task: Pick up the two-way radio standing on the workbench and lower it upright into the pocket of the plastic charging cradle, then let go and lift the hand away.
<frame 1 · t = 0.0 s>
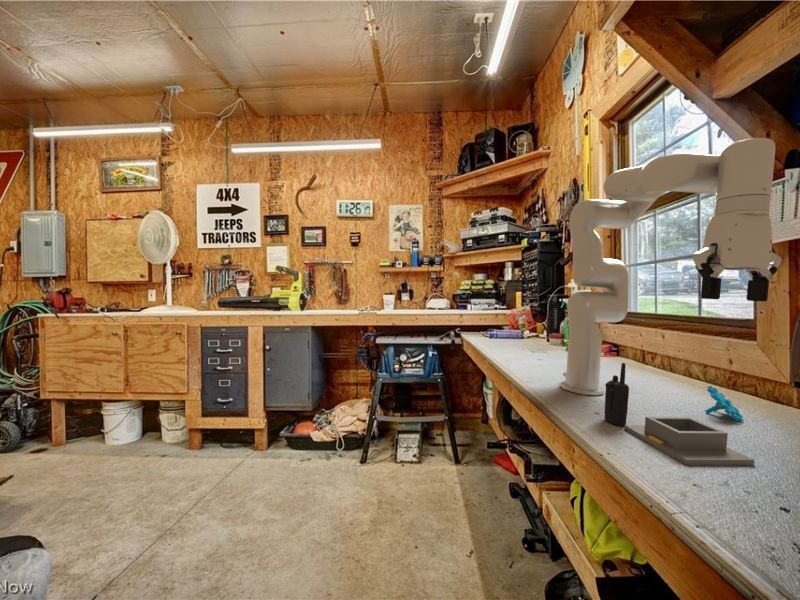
hand: (733, 299, 67), 31 cm above the workbench, tool pointing down, fingers open, 9 cm apart
two-way radio: (612, 423, 86), on the workbench
charging cradle: (682, 445, 74), on the workbench
blue branched piece: (723, 417, 94), on the workbench
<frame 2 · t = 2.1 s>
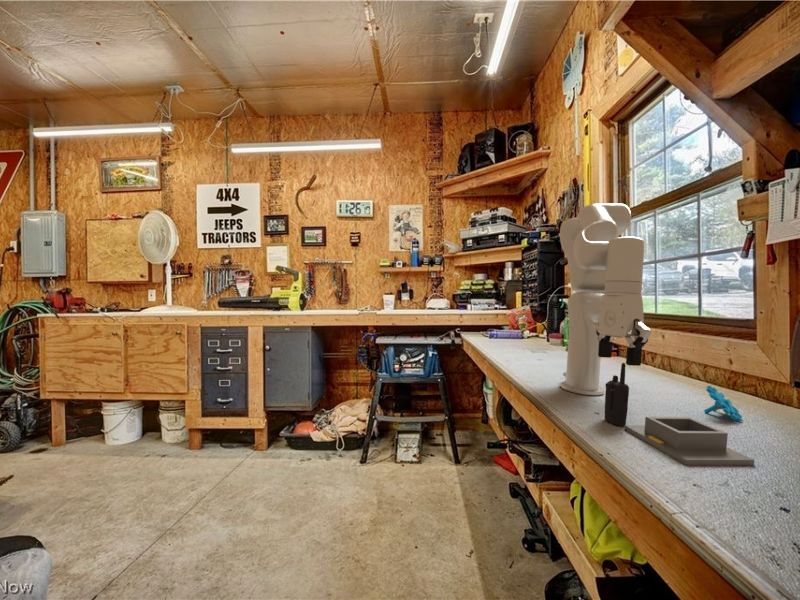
hand: (618, 360, 84), 15 cm above the workbench, tool pointing down, fingers open, 9 cm apart
nothing on the workbench moved.
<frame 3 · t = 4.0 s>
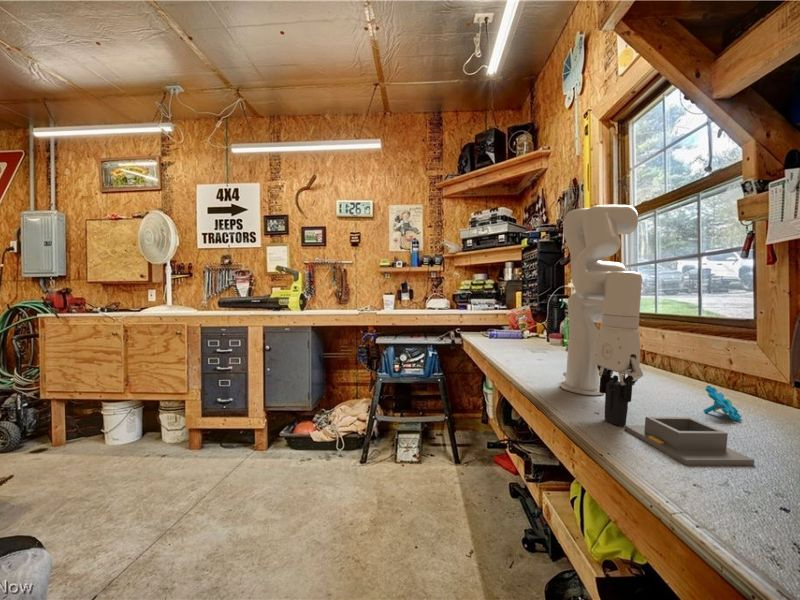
hand: (614, 396, 85), 7 cm above the workbench, tool pointing down, fingers closed on two-way radio, 5 cm apart
two-way radio: (612, 423, 86), on the workbench, touching gripper
everything else where it was.
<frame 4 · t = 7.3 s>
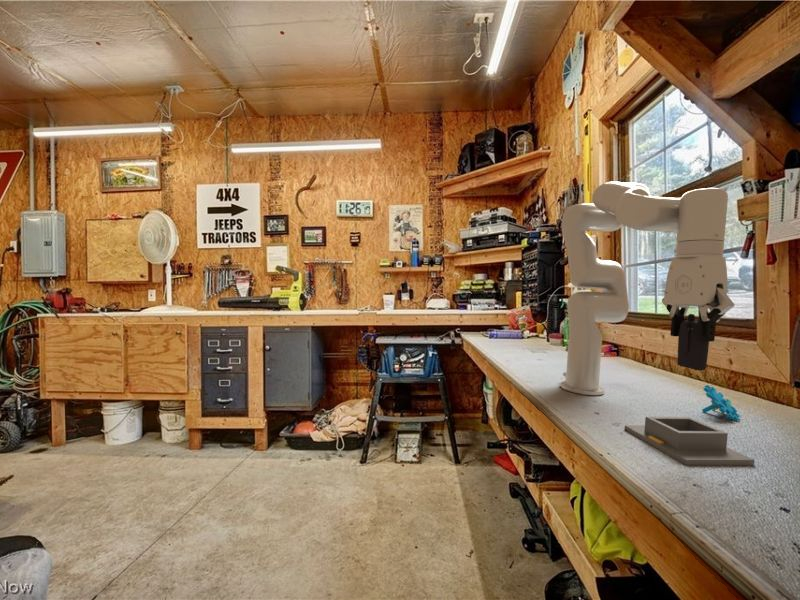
hand: (691, 337, 73), 23 cm above the workbench, tool pointing down, fingers closed on two-way radio, 5 cm apart
two-way radio: (688, 369, 74), point 16 cm above the workbench, touching gripper
everything else where it was.
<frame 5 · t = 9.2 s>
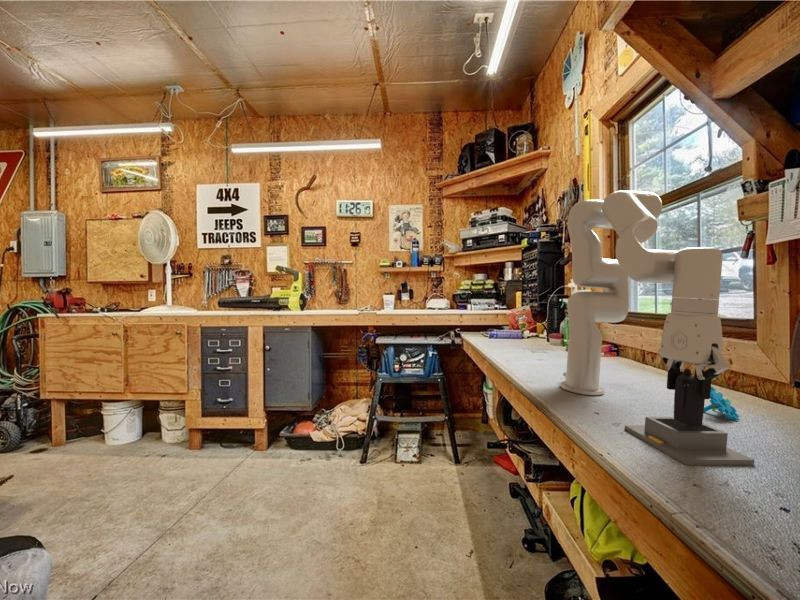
hand: (687, 392, 74), 11 cm above the workbench, tool pointing down, fingers closed on two-way radio, 5 cm apart
two-way radio: (684, 424, 74), point 5 cm above the workbench, touching gripper
everything else where it was.
when the fingers open (9 cm above the workbench, at t = 10.6 s): two-way radio drops 1 cm, resting on charging cradle.
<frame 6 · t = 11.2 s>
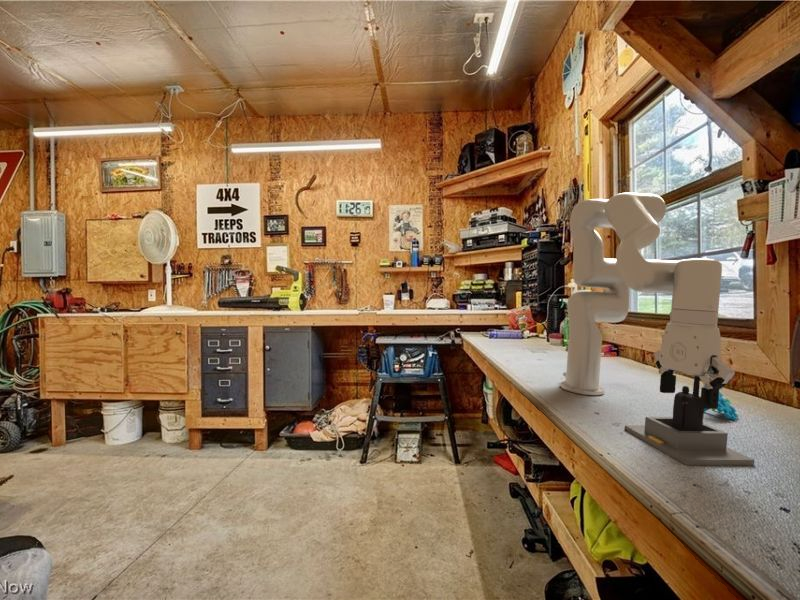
hand: (686, 399, 74), 10 cm above the workbench, tool pointing down, fingers open, 9 cm apart
two-way radio: (683, 441, 74), point 1 cm above the workbench, touching charging cradle
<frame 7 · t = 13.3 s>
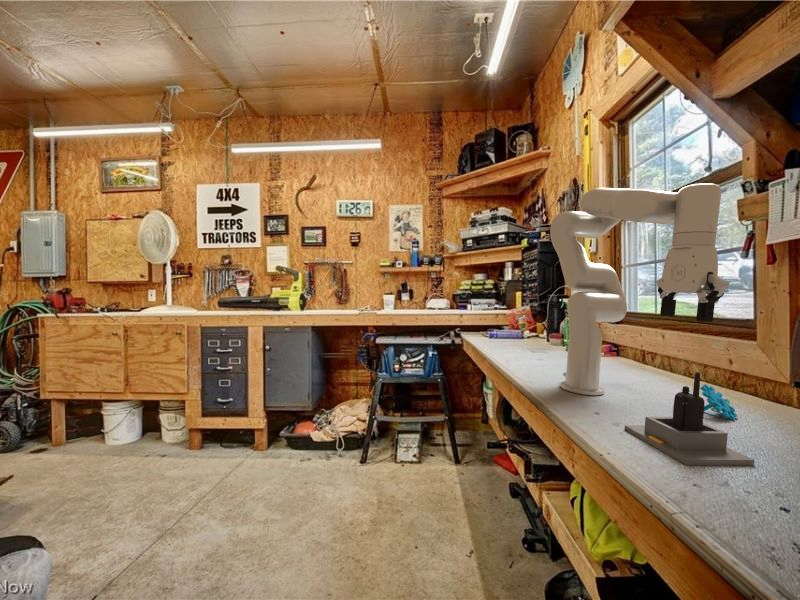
hand: (684, 318, 80), 26 cm above the workbench, tool pointing down, fingers open, 9 cm apart
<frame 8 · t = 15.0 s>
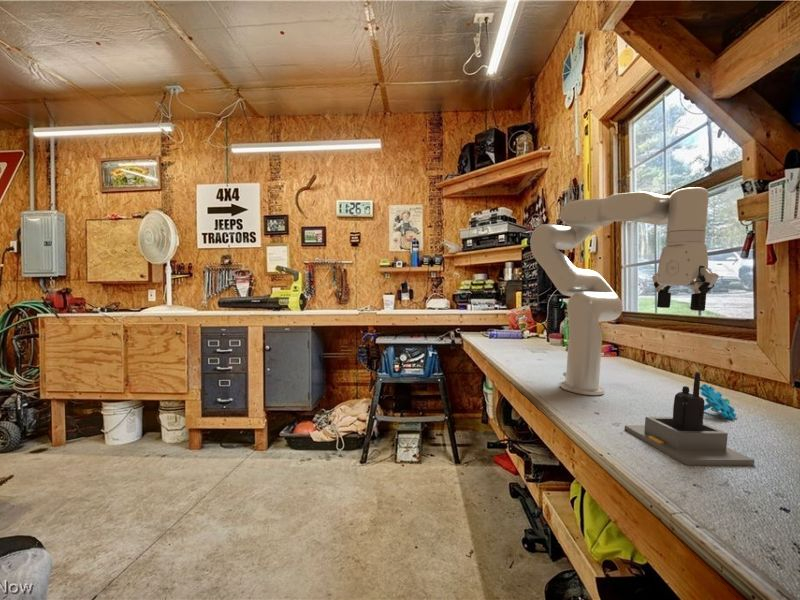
hand: (679, 308, 88), 28 cm above the workbench, tool pointing down, fingers open, 9 cm apart
at the end: two-way radio 0.1 cm off-centre on the charging cradle, point 0.8 cm above the charging cradle's base; two-way radio tilted 0°; the gripper is holding nothing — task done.
